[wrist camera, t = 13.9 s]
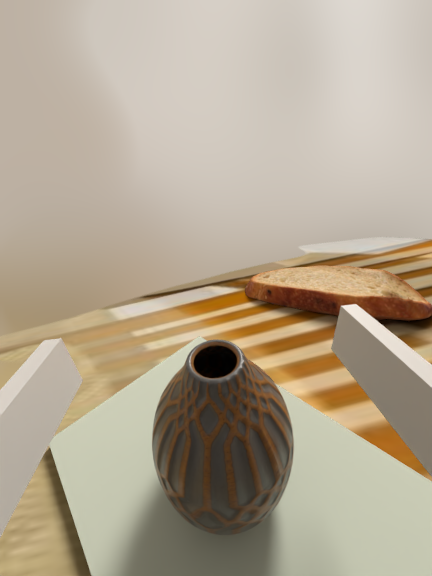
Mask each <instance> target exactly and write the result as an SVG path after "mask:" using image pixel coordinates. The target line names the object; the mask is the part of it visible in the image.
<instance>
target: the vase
mask: <svg viewBox="0 0 432 576" xmlns="http://www.w3.org/2000/svg"><path fill="white" fill-rule="evenodd" d="M152 452H153V460H154V465H155V469H156V473H157V476H158V479H159V481H160V484H161V486H162V488H163V490H164V492H165V494H166V496H167V498H168V500H169V501H170V503H171V504H172V505H173V507H174V508H175V510H176V511H177V512H178V513H179V514H180V515H181V516H182V517H183V518H184V519H185V520H186V521H188V522H189V523H190V524H192V525H193V526H195V527H197V528H199V529H201V530H203V531H206V532H209V533H212V534H218V535H233V534H238V533H242V532H245V531H247V530H249V529H252V528H253V527H255V526H257V525H258V524H259V523H261V522H262V521H263V520H264V519H265V518H266V517H268V516H269V515H270V513H271V512H272V511H273V510H274V509H275V507H276V506H277V505H278V503H279V501H280V500H281V498H282V496H283V493H284V491H285V489H286V486H287V484H288V481H289V477H290V473H291V469H292V464H293V455H294V437H293V428H292V423H291V419H290V415H289V412H288V409H287V406H286V403H285V401H284V399H283V397H282V395H281V393H280V391H279V389H278V388H277V386H276V384H275V383H274V382H273V380H272V379H271V378H270V377H269V376H268V375H267V374H266V373H265V372H264V371H263V370H262V369H261V368H260V367H258V366H257V365H256V364H254V363H253V362H251V361H250V360H248V359H247V358H246V357H245V355H244V354H243V352H242V351H241V349H240V348H239V347H238V346H236V345H235V344H233V343H231V342H229V341H225V340H209V341H206V342H203V343H201V344H199V345H197V346H196V347H194V348H193V349H192V350H191V352H190V353H189V354H188V356H187V359H186V361H185V364H184V366H183V367H182V368H181V369H180V370H179V371H178V372H177V373H176V374H175V375H174V377H173V378H172V379H171V380H170V382H169V383H168V385H167V386H166V388H165V389H164V391H163V393H162V395H161V397H160V400H159V403H158V405H157V409H156V413H155V417H154V423H153V431H152Z"/></svg>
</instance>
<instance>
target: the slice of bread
mask: <svg viewBox="0 0 432 576" xmlns="http://www.w3.org/2000/svg"><path fill="white" fill-rule="evenodd" d="M245 293H246V295H247V296H248V297H251V298H253V299H258V300H260V301H264V302H268V303H271V304H276V305H281V306H284V307H291V308H297V309H300V310H308V311H312V312H317V313H323V314H331V315H336V316H339V312H340V307H341V306H344V305H352V304H357V305H358V306H359V307H360V308H362V309H363V310H364V311H365V312H367V313H368V314H369V315H370V316H372V317H373V318H374V319H375V320H384V319H393V320H403V321H409V320H420V319H425V318H428V317H430V316H431V315H432V305H431V304H430V303H429V302H427V301H426V300H425V299H424V298H423V297H422V296H421V295H420V294H419V293H418V292H417V291H416V290H415V289H413V288H412V287H411V286H410V285H409V284H408V283H407V282H405V281H404V280H402V279H400V278H399V277H397V276H395V275H394V274H392V273H390V272H388V271H385V270H375V269H364V268H356V267H351V266H311V267H299V268H286V269H278V270H274V271H267V272H264V273H260V274H258V275H256V276H254V277H252V278H251V280H250V281H249V283H248V284H247V286H246V289H245Z"/></svg>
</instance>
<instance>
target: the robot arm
mask: <svg viewBox="0 0 432 576" xmlns="http://www.w3.org/2000/svg"><path fill="white" fill-rule="evenodd" d="M331 349H332V350H333V352H334V353H335V354H336V356H337V357H338V358H339V359H340V361H341V362H342V363H343V364H344V366H345V367H346V368H347V370H348V371H349V372H350V373H351V375H352V376H353V377H354V378H355V380H356V381H357V382H358V384H359V385H360V386H361V387H362V389H363V390H364V391H365V392H366V394H367V395H368V396H369V398H370V399H371V400H372V401H373V403H374V404H375V405H376V406H377V408H378V409H379V410H380V412H381V413H382V414H383V415H384V417H385V418H386V419H387V420H388V422H389V423H390V424H391V426H392V427H393V428H394V429H395V431H396V432H397V433H398V434H399V436H400V437H401V438H402V440H403V441H404V442H405V443H406V445H407V446H408V447H409V448H410V450H411V451H412V452H413V454H414V455H415V456H416V457H417V459H418V460H419V461H420V462H421V464H422V465H423V466H424V467H425V469H426V470H427V471H428V473H429V474H430V475H431V476H432V365H431V364H430V363H429V362H427V361H426V360H425V359H424V358H423V357H421V356H420V355H419V354H418V353H416V352H415V351H414V350H413V349H411V348H410V347H409V346H408V345H406V344H405V343H404V342H403V341H401V340H400V339H399V338H398V337H396V336H395V335H394V334H393V333H391V332H390V331H389V330H388V329H386V328H385V327H384V326H383V325H382V324H380V323H379V322H378V321H377V320H375V319H374V318H373V317H372V316H370V315H369V314H368V313H367V312H365V311H364V310H363V309H362V308H360V307H359V306H358V305H357V304H352V305H344V306H341V307H340V312H339V317H338V321H337V326H336V330H335V335H334V339H333V344H332V348H331ZM82 381H83V380H82V378H81V376H80V374H79V372H78V370H77V368H76V366H75V364H74V362H73V360H72V358H71V356H70V354H69V352H68V350H67V348H66V346H65V344H64V343H63V341H62V339H52V340H44V341H43V342H42V343H41V344H40V346H39V347H38V348H37V349H36V350H35V351H34V352H33V353H32V355H31V356H30V357H29V358H28V359H27V360H26V361H25V363H24V364H23V365H22V366H21V367H20V368H19V369H18V371H17V372H16V373H15V374H14V375H13V376H12V378H11V379H10V380H9V381H8V382H7V383H6V384H5V385H4V387H3V388H2V389H1V390H0V537H1V535H2V533H3V531H4V529H5V527H6V526H7V524H8V522H9V520H10V518H11V516H12V514H13V512H14V510H15V508H16V506H17V505H18V503H19V501H20V499H21V497H22V495H23V493H24V491H25V489H26V487H27V486H28V484H29V482H30V480H31V478H32V476H33V474H34V472H35V470H36V468H37V466H38V465H39V463H40V461H41V459H42V457H43V455H44V453H45V451H46V449H47V447H48V446H49V444H50V442H51V440H52V438H53V436H54V434H55V432H56V430H57V428H58V427H59V425H60V423H61V421H62V419H63V417H64V415H65V413H66V411H67V409H68V407H69V406H70V404H71V402H72V400H73V398H74V396H75V394H76V392H77V390H78V388H79V387H80V385H81V383H82Z"/></svg>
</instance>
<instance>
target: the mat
mask: <svg viewBox="0 0 432 576" xmlns="http://www.w3.org/2000/svg"><path fill="white" fill-rule="evenodd" d="M203 342H206V340H205V339H203V338H202V337H200V336H199V337H197V338H196V339H194V340H193V341H192V342H190V343H189V344H187V345H186V346H184V347H183V348H181V349H180V350H179V351H177V352H176V353H174V354H173V355H171V356H170V357H168V358H167V359H165V360H164V361H163V362H161V363H160V364H158V365H157V366H155V367H154V368H152V369H151V370H150V371H148V372H147V373H145V374H144V375H142V376H141V377H139V378H138V379H136V380H135V381H134V382H132V383H131V384H129V385H128V386H126V387H125V388H123V389H122V390H121V391H119V392H118V393H116V394H115V395H113V396H112V397H110V398H109V399H108V400H106V401H105V402H103V403H102V404H100V405H99V406H97V407H96V408H94V409H93V410H92V411H90V412H89V413H87V414H86V415H84V416H83V417H81V418H80V419H79V420H77V421H76V422H74V423H73V424H71V425H70V426H68V427H67V428H65V429H64V430H63V431H61V432H60V433H58V434H57V435H55V436H54V437H53V438H52V440H51V442H50V444H49V446H50V449H51V452H52V455H53V458H54V461H55V464H56V467H57V470H58V473H59V476H60V480H61V483H62V486H63V489H64V492H65V495H66V498H67V501H68V504H69V507H70V511H71V514H72V517H73V520H74V523H75V526H76V529H77V532H78V535H79V538H80V541H81V545H82V548H83V551H84V554H85V557H86V560H87V563H88V566H89V569H90V572H91V575H92V576H432V481H430V480H428V479H427V478H425V477H424V476H422V475H420V474H419V473H417V472H416V471H414V470H412V469H411V468H409V467H408V466H406V465H404V464H403V463H401V462H400V461H398V460H396V459H395V458H393V457H392V456H390V455H388V454H387V453H385V452H384V451H382V450H380V449H379V448H377V447H376V446H374V445H372V444H371V443H369V442H368V441H366V440H364V439H363V438H361V437H360V436H358V435H356V434H355V433H353V432H352V431H350V430H348V429H347V428H345V427H344V426H342V425H341V424H339V423H337V422H336V421H334V420H333V419H331V418H329V417H328V416H326V415H325V414H323V413H321V412H320V411H318V410H317V409H315V408H313V407H312V406H310V405H309V404H307V403H305V402H304V401H302V400H301V399H299V398H297V397H296V396H294V395H293V394H291V393H289V392H288V391H286V390H285V389H283V388H281V387H280V386H278V385H277V384H276V386H277V388H278V389H279V391H280V393H281V395H282V397H283V399H284V401H285V403H286V406H287V409H288V412H289V415H290V419H291V423H292V428H293V437H294V455H293V464H292V469H291V473H290V477H289V481H288V484H287V486H286V489H285V491H284V493H283V496H282V498H281V500H280V501H279V503H278V505H277V506H276V507H275V509H274V510H273V511H272V512H271V513H270V515H269V516H268V517H266V518H265V519H264V520H263V521H262V522H261V523H259V524H258V525H257V526H255V527H253V528H252V529H249V530H247V531H245V532H242V533H238V534H233V535H218V534H212V533H209V532H206V531H203V530H201V529H199V528H197V527H195V526H193V525H192V524H190V523H189V522H188V521H186V520H185V519H184V518H183V517H182V516H181V515H180V514H179V513H178V512H177V511H176V510H175V508H174V507H173V505H172V504H171V503H170V501H169V500H168V498H167V496H166V494H165V492H164V490H163V488H162V486H161V484H160V481H159V479H158V476H157V473H156V469H155V465H154V460H153V452H152V431H153V423H154V417H155V413H156V409H157V405H158V403H159V400H160V397H161V395H162V393H163V391H164V389H165V388H166V386H167V385H168V383H169V382H170V380H171V379H172V378H173V377H174V375H175V374H176V373H177V372H178V371H179V370H180V369H181V368H182V367H183V366H184V364H185V361H186V359H187V356H188V354H189V353H190V352H191V350H192V349H193V348H194V347H196V346H197V345H199V344H201V343H203Z"/></svg>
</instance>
